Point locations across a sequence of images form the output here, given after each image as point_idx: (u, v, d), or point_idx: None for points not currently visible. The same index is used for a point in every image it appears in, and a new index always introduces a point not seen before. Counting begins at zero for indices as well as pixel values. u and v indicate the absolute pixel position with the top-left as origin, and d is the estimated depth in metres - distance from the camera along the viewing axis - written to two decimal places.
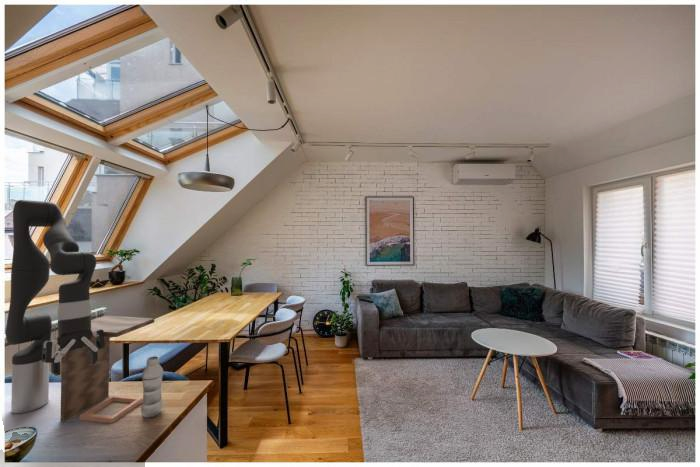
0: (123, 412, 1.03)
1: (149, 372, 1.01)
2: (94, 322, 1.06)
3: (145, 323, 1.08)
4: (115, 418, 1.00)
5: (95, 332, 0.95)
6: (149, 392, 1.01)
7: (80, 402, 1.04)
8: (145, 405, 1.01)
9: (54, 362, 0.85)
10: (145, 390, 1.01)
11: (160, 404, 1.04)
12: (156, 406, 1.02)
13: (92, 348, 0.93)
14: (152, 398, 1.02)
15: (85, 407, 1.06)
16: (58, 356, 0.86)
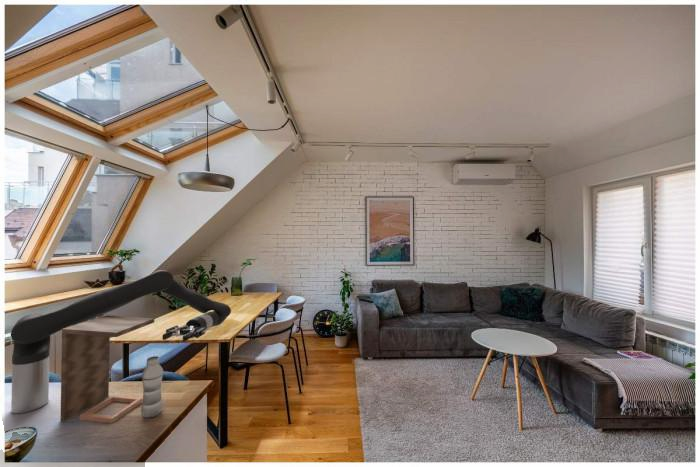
0: (123, 412, 1.03)
1: (149, 372, 1.01)
2: (94, 322, 1.06)
3: (145, 323, 1.08)
4: (115, 418, 1.00)
5: None
6: (149, 392, 1.01)
7: (80, 402, 1.04)
8: (145, 405, 1.01)
9: (192, 337, 1.17)
10: (145, 390, 1.01)
11: (160, 404, 1.04)
12: (156, 406, 1.02)
13: (173, 335, 1.19)
14: (152, 398, 1.02)
15: (85, 407, 1.06)
16: None
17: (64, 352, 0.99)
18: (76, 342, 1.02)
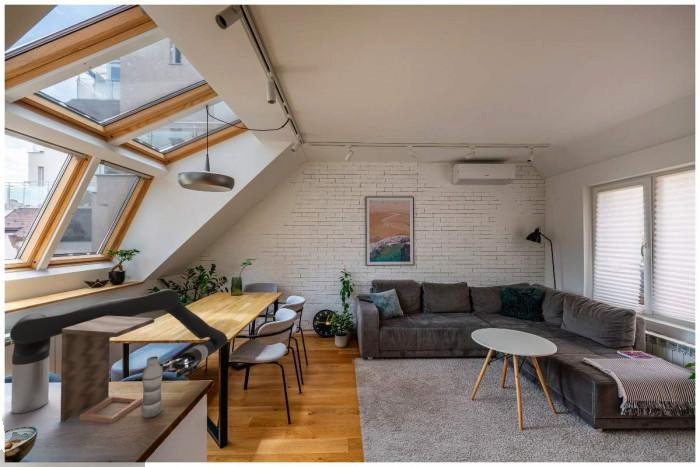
0: (123, 412, 1.03)
1: (149, 372, 1.01)
2: (94, 322, 1.06)
3: (145, 323, 1.08)
4: (115, 418, 1.00)
5: None
6: (149, 392, 1.01)
7: (80, 402, 1.04)
8: (145, 405, 1.01)
9: (186, 372, 1.14)
10: (145, 390, 1.01)
11: (160, 404, 1.04)
12: (156, 406, 1.02)
13: None
14: (152, 398, 1.02)
15: (85, 407, 1.06)
16: None
17: (64, 352, 0.99)
18: (76, 342, 1.02)
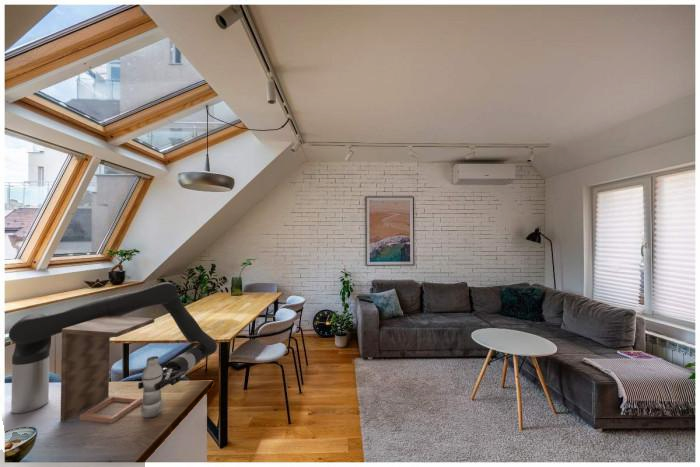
0: (123, 412, 1.03)
1: (149, 372, 1.01)
2: (94, 322, 1.06)
3: (145, 323, 1.08)
4: (115, 418, 1.00)
5: None
6: (149, 392, 1.01)
7: (80, 402, 1.04)
8: (145, 405, 1.01)
9: (166, 384, 1.05)
10: (145, 390, 1.01)
11: (160, 404, 1.04)
12: (156, 406, 1.02)
13: None
14: (152, 398, 1.02)
15: (85, 407, 1.06)
16: None
17: (64, 352, 0.99)
18: (76, 342, 1.02)
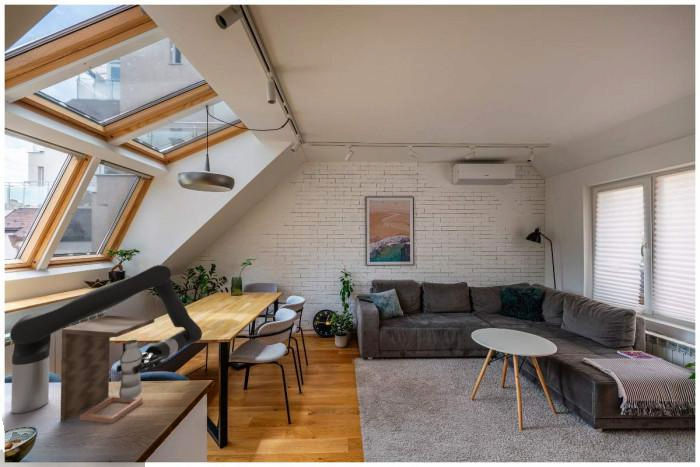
0: (123, 412, 1.03)
1: (127, 356, 1.01)
2: (94, 322, 1.06)
3: (145, 323, 1.08)
4: (115, 418, 1.00)
5: None
6: (127, 375, 1.01)
7: (80, 402, 1.04)
8: (123, 388, 1.01)
9: (145, 368, 1.05)
10: (123, 373, 1.01)
11: (139, 387, 1.04)
12: (134, 389, 1.02)
13: None
14: (130, 381, 1.02)
15: (85, 407, 1.06)
16: None
17: (64, 352, 0.99)
18: (76, 342, 1.02)
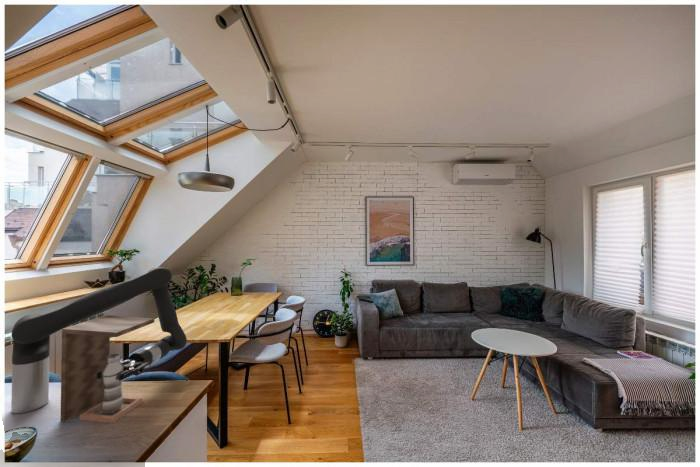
0: (123, 412, 1.03)
1: (108, 369, 1.03)
2: (94, 322, 1.06)
3: (145, 323, 1.08)
4: (115, 418, 1.00)
5: None
6: (108, 388, 1.03)
7: (80, 402, 1.04)
8: (104, 401, 1.02)
9: (131, 375, 1.07)
10: (104, 387, 1.03)
11: (120, 401, 1.05)
12: (115, 402, 1.04)
13: None
14: (111, 395, 1.03)
15: (85, 407, 1.06)
16: None
17: (64, 352, 0.99)
18: (76, 342, 1.02)
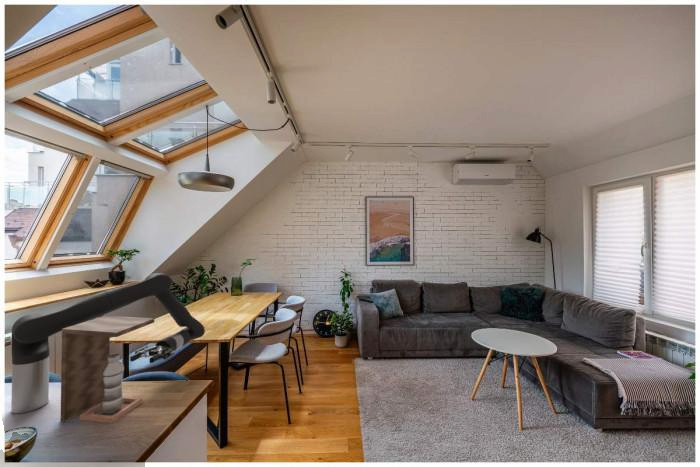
0: (123, 412, 1.03)
1: (108, 369, 1.03)
2: (94, 322, 1.06)
3: (145, 323, 1.08)
4: (115, 418, 1.00)
5: None
6: (109, 388, 1.03)
7: (80, 402, 1.04)
8: (104, 401, 1.02)
9: (159, 358, 1.21)
10: (104, 387, 1.03)
11: (120, 401, 1.05)
12: (116, 402, 1.04)
13: (142, 356, 1.23)
14: (112, 395, 1.03)
15: (85, 407, 1.06)
16: None
17: (64, 352, 0.99)
18: (76, 342, 1.02)
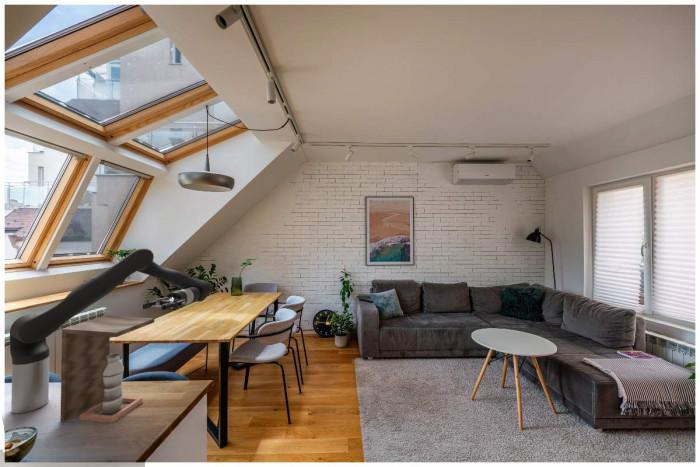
0: (123, 412, 1.03)
1: (108, 369, 1.03)
2: (94, 322, 1.06)
3: (145, 323, 1.08)
4: (115, 418, 1.00)
5: None
6: (108, 388, 1.03)
7: (80, 402, 1.04)
8: (104, 402, 1.02)
9: (171, 307, 1.22)
10: (104, 387, 1.03)
11: (120, 401, 1.05)
12: (116, 402, 1.04)
13: (154, 306, 1.24)
14: (111, 395, 1.03)
15: (85, 407, 1.06)
16: None
17: (64, 352, 0.99)
18: (76, 342, 1.02)
